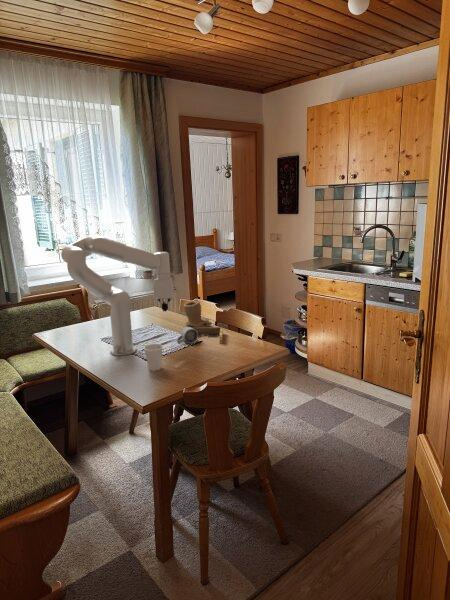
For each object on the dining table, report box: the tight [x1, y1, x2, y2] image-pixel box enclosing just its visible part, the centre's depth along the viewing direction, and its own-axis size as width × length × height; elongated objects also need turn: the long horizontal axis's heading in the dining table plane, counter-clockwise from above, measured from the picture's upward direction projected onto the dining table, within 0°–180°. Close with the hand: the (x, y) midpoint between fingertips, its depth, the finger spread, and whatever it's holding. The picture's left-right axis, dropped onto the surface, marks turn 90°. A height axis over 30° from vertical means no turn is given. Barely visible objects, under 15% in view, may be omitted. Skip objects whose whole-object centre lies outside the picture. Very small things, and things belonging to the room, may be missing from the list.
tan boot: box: [183, 300, 213, 328], centre depth 243 cm, size 15×12×15 cm
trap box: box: [192, 326, 224, 345], centre depth 220 cm, size 17×20×4 cm
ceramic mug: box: [176, 326, 199, 344], centre depth 217 cm, size 11×8×8 cm
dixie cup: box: [143, 343, 164, 372], centre depth 182 cm, size 8×8×10 cm
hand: (165, 310), depth 214 cm, fingers closed
